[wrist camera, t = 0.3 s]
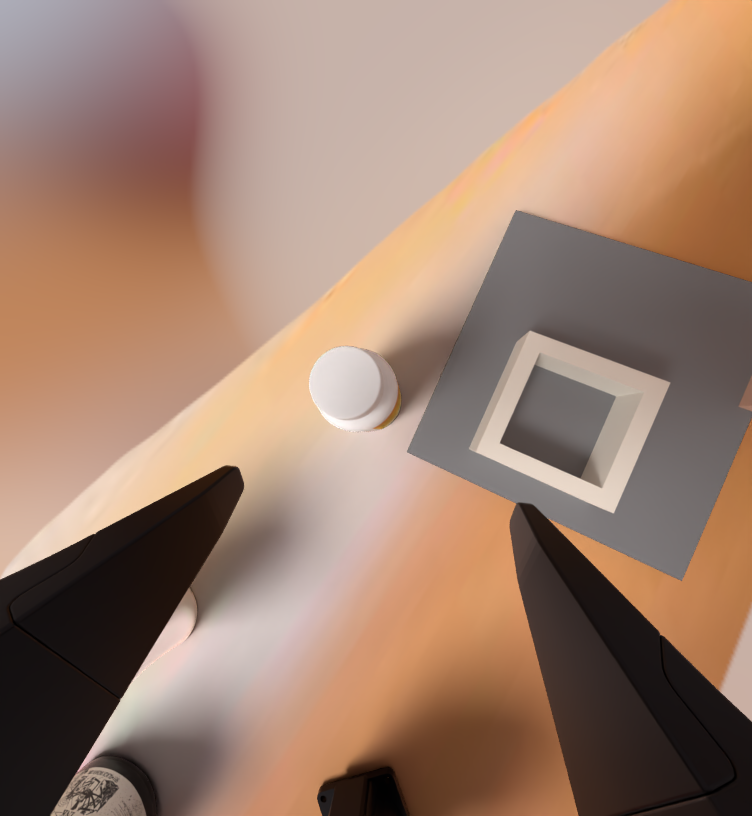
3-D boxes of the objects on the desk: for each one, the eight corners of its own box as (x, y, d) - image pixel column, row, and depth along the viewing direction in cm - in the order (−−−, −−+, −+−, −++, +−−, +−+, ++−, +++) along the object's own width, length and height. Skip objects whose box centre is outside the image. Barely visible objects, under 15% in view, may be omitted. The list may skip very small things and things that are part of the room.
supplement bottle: (394, 364, 24) (384, 321, 14) (407, 424, 24) (404, 421, 14) (336, 377, 25) (288, 344, 15) (347, 436, 24) (304, 441, 14)
